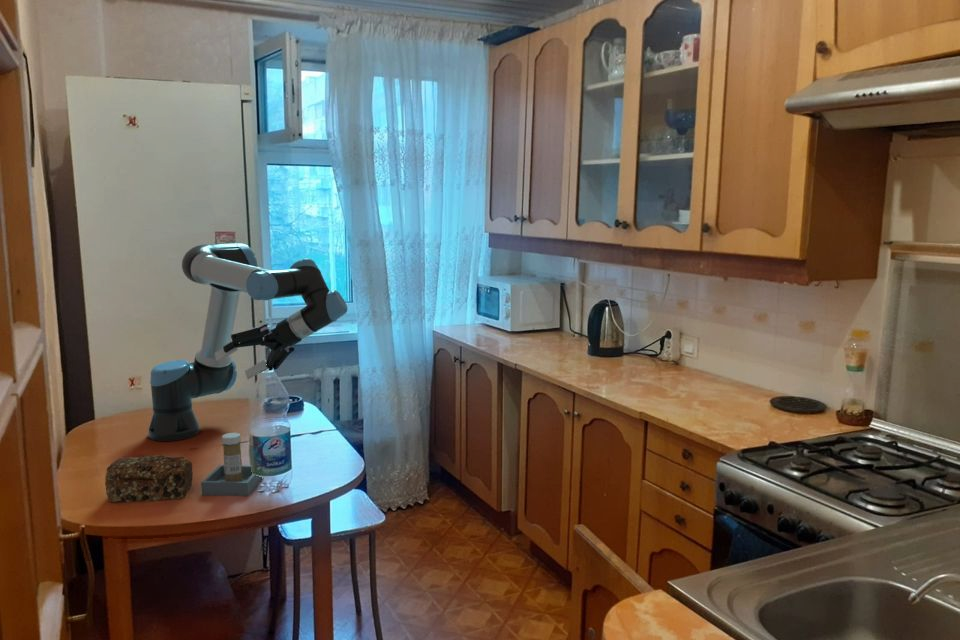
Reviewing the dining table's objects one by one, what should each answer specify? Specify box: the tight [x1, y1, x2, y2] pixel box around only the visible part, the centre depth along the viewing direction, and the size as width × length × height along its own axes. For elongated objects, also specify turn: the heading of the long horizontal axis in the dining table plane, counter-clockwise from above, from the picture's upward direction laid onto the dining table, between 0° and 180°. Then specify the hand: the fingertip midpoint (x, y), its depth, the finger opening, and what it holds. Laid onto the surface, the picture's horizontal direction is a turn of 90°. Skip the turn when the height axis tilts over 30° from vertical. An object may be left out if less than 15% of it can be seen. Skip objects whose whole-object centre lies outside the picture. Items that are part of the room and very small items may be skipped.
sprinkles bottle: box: [221, 432, 243, 482], centre depth 184 cm, size 5×5×13 cm
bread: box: [104, 454, 193, 504], centre depth 180 cm, size 19×11×10 cm, turn 98°
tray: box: [200, 464, 263, 497], centre depth 185 cm, size 12×12×4 cm
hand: (231, 366), depth 197 cm, fingers open, 13 cm apart
